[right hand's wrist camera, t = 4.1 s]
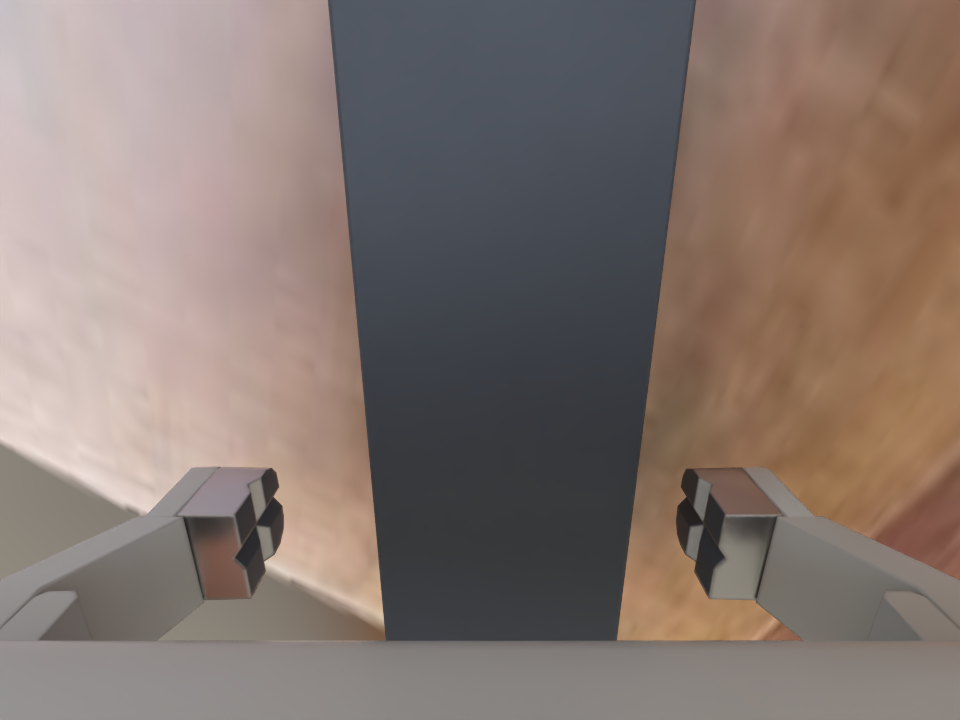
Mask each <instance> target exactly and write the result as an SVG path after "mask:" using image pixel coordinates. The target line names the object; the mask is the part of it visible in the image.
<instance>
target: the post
mask: <svg viewBox="0 0 960 720" xmlns="http://www.w3.org/2000/svg"><path fill="white" fill-rule="evenodd" d="M695 4H696V0H328V5H329V16H330V27H331V38H332V49H333V60H334V71H335V82H336V93H337V104H338V115H339V127H340V138H341V149H342V160H343V171H344V182H345V193H346V204H347V215H348V226H349V237H350V248H351V259H352V270H353V281H354V292H355V303H356V314H357V326H358V337H359V348H360V359H361V370H362V381H363V392H364V403H365V414H366V425H367V436H368V447H369V458H370V469H371V480H372V491H373V502H374V513H375V525H376V536H377V547H378V558H379V569H380V580H381V591H382V602H383V613H384V624H385V635H386V641H617V633H618V625H619V617H620V609H621V601H622V593H623V585H624V577H625V569H626V561H627V553H628V545H629V536H630V528H631V520H632V512H633V504H634V496H635V488H636V480H637V472H638V464H639V456H640V448H641V440H642V431H643V423H644V415H645V407H646V399H647V391H648V383H649V375H650V367H651V359H652V351H653V343H654V335H655V327H656V318H657V310H658V302H659V294H660V286H661V278H662V270H663V262H664V254H665V246H666V238H667V230H668V222H669V214H670V205H671V197H672V189H673V181H674V173H675V165H676V157H677V149H678V141H679V133H680V125H681V117H682V109H683V101H684V92H685V84H686V76H687V68H688V60H689V52H690V44H691V36H692V28H693V20H694V12H695Z"/></svg>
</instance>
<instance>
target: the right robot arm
mask: <svg viewBox="0 0 960 720" xmlns="http://www.w3.org/2000/svg"><path fill="white" fill-rule="evenodd" d="M278 488H279V484H278V479H277V474H276V472H275V471H274V470H273V469H272V468H248V467H222V468H221V467H196V468H192V469H190V471H189V472H188V473H187V474H186V475H185V476H184V477H183V478H182V479H181V480H180V481H179V482H178V483H177V484H176V485H175V486H174V487H173V488H172V489H171V490H170V491H169V492H168V493H167V494H166V495H165V497H164V498H163V499H162V500H161V501H160V502H159V503H158V504H157V505H156V506H155V507H154V508H153V509H152V510H151V511H150V512H149V513H148V514H147V515H146V516H140V517H135V518H133V519H131V520H128V521H126V522H124V523H122V524H120V525H118V526H115V527H113V528H111V529H109V530H107V531H105V532H102V533H100V534H98V535H96V536H94V537H92V538H89V539H87V540H85V541H83V542H81V543H79V544H77V545H75V546H72V547H70V548H68V549H66V550H64V551H61V552H59V553H57V554H55V555H53V556H51V557H49V558H46V559H44V560H42V561H40V562H38V563H36V564H33V565H31V566H29V567H27V568H25V569H23V570H21V571H19V572H16V573H14V574H12V575H10V576H8V577H5V578H3V579H1V580H0V720H960V580H959V579H956V578H954V577H952V576H950V575H948V574H946V573H943V572H941V571H939V570H937V569H935V568H933V567H931V566H928V565H926V564H924V563H922V562H920V561H918V560H916V559H913V558H911V557H909V556H907V555H905V554H903V553H900V552H898V551H896V550H894V549H892V548H890V547H888V546H885V545H883V544H881V543H879V542H877V541H875V540H873V539H870V538H868V537H866V536H864V535H862V534H860V533H857V532H855V531H853V530H851V529H849V528H847V527H845V526H842V525H840V524H838V523H836V522H834V521H832V520H830V519H827V518H825V517H821V516H814V515H813V514H812V513H811V512H810V511H809V510H808V509H807V508H806V507H805V506H804V505H803V504H802V503H801V502H800V501H799V500H798V499H797V497H796V496H795V495H794V494H793V493H792V492H791V491H790V490H789V489H788V488H787V487H786V486H785V485H784V484H783V483H782V482H781V481H780V480H779V479H778V478H777V477H776V476H775V475H774V474H773V472H772V471H771V470H770V469H768V468H765V467H763V466H762V467H737V468H701V469H686V470H685V472H684V475H683V478H682V483H681V488H682V490H683V491H684V493H685V495H686V496H687V497H686V498H685V499H684V500H683V501H682V502H681V503H680V504H679V505H678V508H677V516H676V526H677V535H678V539H679V542H680V545H681V547H682V549H683V551H684V553H685V555H687V556H688V557H690V558H691V559H693V560H694V561H696V564H695V570H694V572H695V574H696V576H697V578H698V580H699V581H700V583H701V585H702V587H703V589H704V591H705V593H706V594H707V596H708V598H709V599H731V600H756V603H757V604H759V605H760V606H761V607H762V608H764V609H765V610H766V611H767V612H769V613H770V614H771V615H772V616H774V617H775V618H776V619H777V620H779V621H780V622H781V623H782V624H783V625H785V626H786V627H787V628H788V629H790V630H791V631H792V632H793V633H795V634H796V635H797V636H798V637H800V638H801V639H802V640H803V641H157V640H158V639H159V638H160V637H162V636H163V635H164V634H165V633H167V632H168V631H169V630H170V629H172V628H173V627H174V626H175V625H177V624H178V623H179V622H180V621H182V620H183V619H184V618H185V617H187V616H188V615H189V614H190V613H192V612H193V611H194V610H195V609H197V608H198V607H199V606H200V605H201V604H203V603H204V600H228V599H251V598H252V596H253V595H254V593H255V591H256V589H257V587H258V585H259V583H260V581H261V580H262V578H263V576H264V574H265V572H266V570H265V564H264V561H266V560H267V559H269V558H270V557H272V556H273V555H275V553H276V551H277V549H278V547H279V545H280V542H281V538H282V534H283V529H284V515H283V508H282V505H281V504H280V503H279V502H278V501H277V500H276V499H275V498H274V497H273V496H274V495H275V493H276V491H277V490H278Z"/></svg>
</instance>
